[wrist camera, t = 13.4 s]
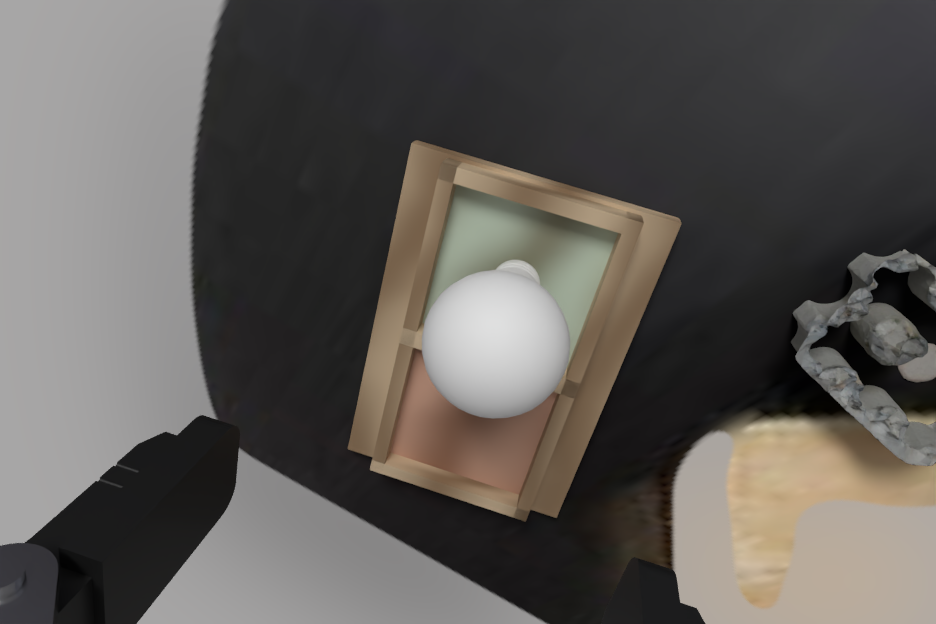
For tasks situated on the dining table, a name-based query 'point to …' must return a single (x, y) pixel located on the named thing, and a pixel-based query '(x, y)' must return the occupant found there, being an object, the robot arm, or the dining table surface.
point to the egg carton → (875, 352)
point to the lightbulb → (496, 342)
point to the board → (560, 272)
